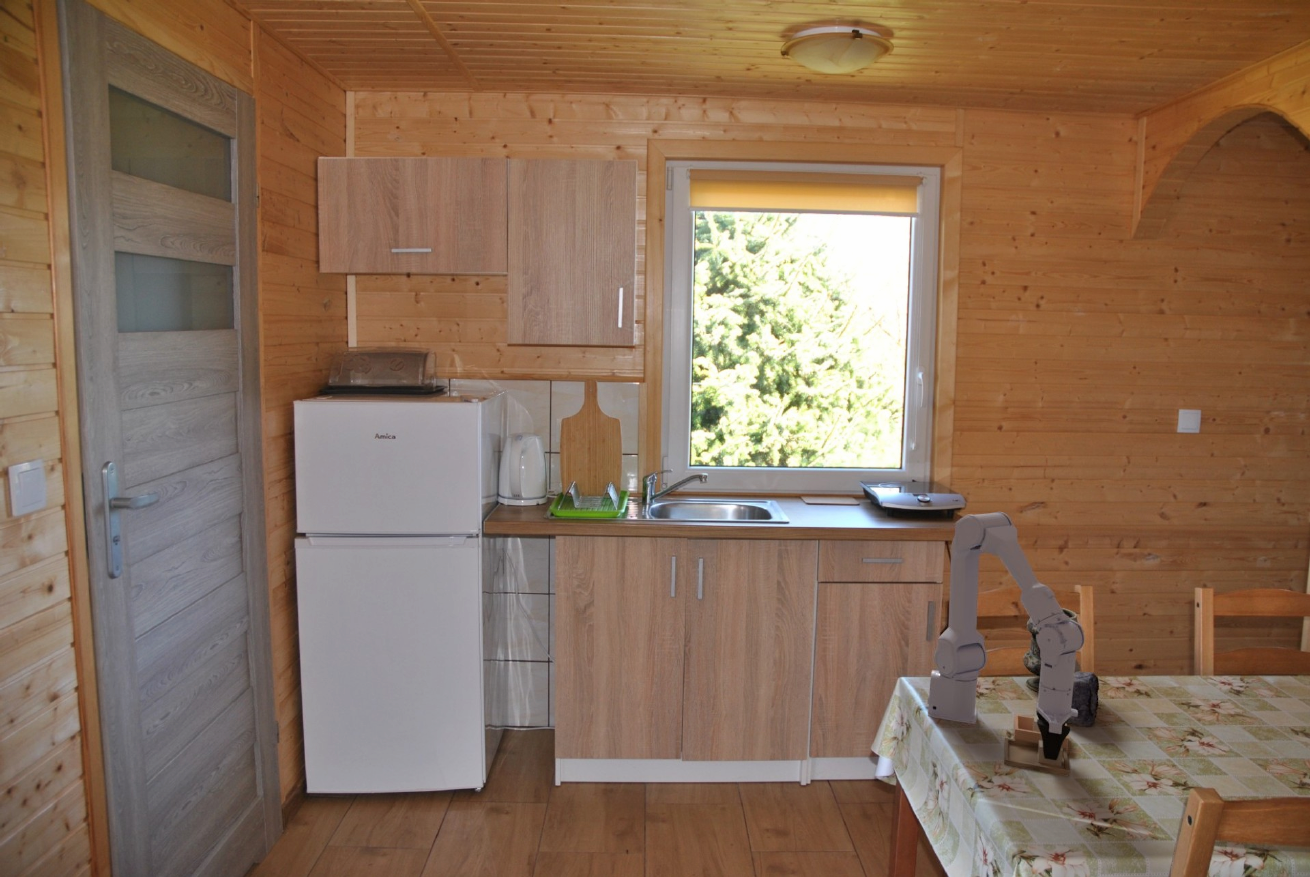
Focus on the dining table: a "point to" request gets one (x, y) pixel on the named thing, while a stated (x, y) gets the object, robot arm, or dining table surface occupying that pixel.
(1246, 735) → the dining table surface
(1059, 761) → the stone beige
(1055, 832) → the dining table surface
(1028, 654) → the apothecary jar
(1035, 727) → the stone grey
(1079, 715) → the rock
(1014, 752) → the tray
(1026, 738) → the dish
